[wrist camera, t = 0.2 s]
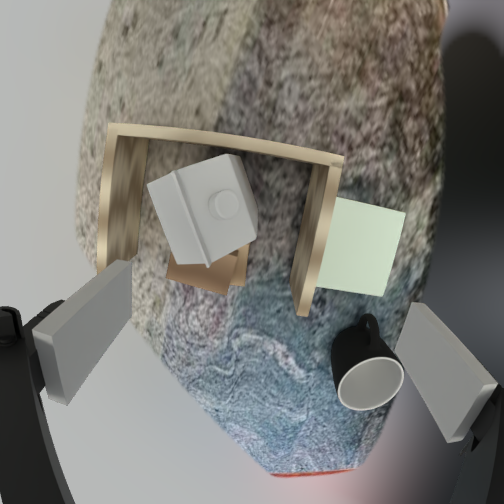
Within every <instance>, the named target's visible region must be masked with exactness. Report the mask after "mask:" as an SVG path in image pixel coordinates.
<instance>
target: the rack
mask: <svg viewBox="0 0 504 504" xmlns="http://www.w3.org/2000/svg"><path fill="white" fill-rule="evenodd" d="M150 139H152V140H162V141H171V142H180V143H189V144H197V145H204V146H212V147H219V148H226V149H232V150H239V151H245V152H251V153H257V154H263V155H269V156H274V157H279V158H285V159H290V160H295V161H300V162H305V163H310V164H313V167H312V172H311V177H310V182H309V187H308V193H307V198H306V203H305V208H304V213H303V217H302V222H301V227H300V232H299V237H298V241H297V246H296V251H295V255H294V260H293V265H292V269H291V274H290V278H289V283H290V287H291V292H292V296H293V301H294V305H295V310H296V315H299V316H306V317H308V314H309V310H310V306H311V302H312V299H313V295H314V291H315V287H316V283H317V279H318V275H319V271H320V267H321V263H322V259H323V255H324V250H325V246H326V242H327V237H328V233H329V229H330V224H331V220H332V215H333V210H334V206H335V201H336V196H337V191H338V186H339V181H340V176H341V171H342V166H343V161H344V156H340V155H336V154H332V153H327V152H323V151H318V150H314V149H309V148H304V147H299V146H294V145H289V144H284V143H279V142H273V141H268V140H262V139H256V138H250V137H244V136H237V135H231V134H224V133H217V132H209V131H201V130H193V129H184V128H174V127H164V126H153V125H140V124H124V123H109V124H108V130H107V137H106V144H105V152H104V160H103V168H102V178H101V189H100V201H99V216H98V237H97V275H98V274H99V273H100V272H101V271H103V270H104V269H105V268H107V267H108V266H109V265H110V264H112V263H113V262H114V261H116V260H117V259H118V260H124V261H129V260H130V259H131V258H133V257H134V256H135V255H136V254H137V249H138V235H139V223H140V212H141V202H142V192H143V184H144V175H145V168H146V160H147V153H148V146H149V140H150Z"/></svg>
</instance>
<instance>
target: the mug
mask: <svg viewBox="0 0 504 504" xmlns="http://www.w3.org/2000/svg"><path fill="white" fill-rule="evenodd" d="M367 321H368V323H369V327H370V329H368V328H366V324H367ZM331 364H332V373H333V379H334V384H335V388H336V392H337V395H338V398H339V400H340V402H341V403H342V404H343V405H344V406H346V407H347V408H350V409H353V410H369V409H373V408H376V407H379V406H381V405H383V404H384V403H386V402H387V401H389V400H390V399H391V398H392V397H393V396H394V395H395V394H396V393H397V392H398V390H399V389H400V387H401V385H402V383H403V379H404V371H403V368H402V366H401V364H400V362H399V360H398V359H397V357H396V356H395V354H394V353H393V352H392V350H391V349H390V348H389V347H388V346H387V344H386V343H385V342H384V341H383V340H382V339H381V338H380V335H379V327H378V323H377V320H376V318H375V317H374V316H373V315H372V314H364V315H362V316H361V318H360V320H359V323H358V325H357V327H351V328H348V329H346V330H344V331H343V332H341V333H340V334H339V335H338V336H337V338H336V339H335V341H334V343H333V346H332V351H331Z"/></svg>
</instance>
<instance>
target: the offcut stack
mask: <svg viewBox="0 0 504 504" xmlns="http://www.w3.org/2000/svg"><path fill="white" fill-rule="evenodd" d="M250 243H251V242H250ZM250 243H248V244H246V245H244V246H242V247H240V248H238V249H237V250H235V251H233V252H231V253H229V254H227V255H225V256H224V257H222V258H220V259H218V260H216V261H214V262H212V263H211V265H210V267H209V268H207V267H206V264H177V263H176V260H175V258H174V256H173V253H172V251H171V254H170V259H169V264H168V269H167V274H166V278H167V279H170V280H174V281H177V282H181V283H184V284H187V285H191V286H194V287H198V288H201V289H205V290H209V291H212V292H216V293H219V294H223V295H227V292H228V288H229V285H236V286H245V279H246V270H247V260H248V254H249V249H250Z"/></svg>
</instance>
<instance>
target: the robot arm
mask: <svg viewBox="0 0 504 504" xmlns="http://www.w3.org/2000/svg"><path fill="white" fill-rule="evenodd" d="M131 316H132V262H129V261H124V260H118V259H117V260H116V261H114V262H113V263H112V264H110V265H109V266H108V267H107V268H105V269H104V270H103V271H101V272H100V273H99V274H98V275H96V276H95V277H94V278H93V279H92V280H90V281H89V282H88V283H86V284H85V285H84V286H83V287H82V288H80V289H79V290H78V291H77V292H75V293H74V294H73V295H72V296H71V297H69V298H68V299H67V300H66V301H65V300H59V301H57V302H54V303H51V304H50V305H48V306H47V307H46V308H45V309H43V312H42V311H41V312H40V313H39V314H37V316H36V317H34V318H33V319H31V320H30V321H29V322H28V323H27V324H25V325H24V326H22V320H21V315H20V312H19V311H18V310H17V309H15V308H13V307H9V306H2V307H0V494H1V498H2V502H3V504H75V502H74V500H73V497H72V495H71V492H70V490H69V487H68V485H67V482H66V479H65V477H64V474H63V471H62V469H61V466H60V463H59V460H58V457H57V454H56V451H55V448H54V444H53V441H52V438H51V435H50V431H49V427H48V424H47V420H46V416H45V412H44V408H43V404H42V400H41V396H40V392H41V390H42V389H43V388H44V387H46V391H47V394H48V397H49V399H51V400H54V401H56V402H59V403H61V404H64V405H66V406H67V405H68V404H69V403H70V401H71V400H72V398H73V397H74V396H75V394H76V393H77V391H78V390H79V388H80V387H81V385H82V384H83V383H84V381H85V380H86V378H87V377H88V375H89V374H90V373H91V371H92V370H93V368H94V367H95V365H96V364H97V363H98V361H99V360H100V358H101V357H102V356H103V354H104V353H105V352H106V350H107V348H108V347H109V346H110V345H111V343H112V342H113V341H114V339H115V338H116V336H117V335H118V334H119V332H120V331H121V330H122V328H123V327H124V326H125V324H126V323H127V322H128V320H129V319H130V318H131ZM394 351H395V353H396V354H397V356H398V358H399V359H400V361H401V363H402V364H403V366H404V367H405V369H406V371H407V372H408V374H409V376H410V377H411V379H412V381H413V383H414V384H415V386H416V388H417V389H418V391H419V393H420V394H421V396H422V398H423V400H424V401H425V403H426V405H427V407H428V408H429V410H430V412H431V414H432V415H433V417H434V419H435V421H436V423H437V424H438V426H439V428H440V430H441V432H442V434H443V436H444V437H445V439H446V441H447V443H449V442H455V441H460V440H462V439H463V438H464V437H465V435H466V434H467V432H468V430H469V429H471V430H472V432H473V434H474V435H473V436H472V437H471V439H470V440H469V442H468V443H467V444H466V446H465V447H464V448H463V450H462V451H461V452H460V454H459V455H460V456H461V455H462V454H463V453H464V452H466V454H465V458H464V461H463V465H462V468H461V471H460V474H459V478H458V481H457V484H456V487H455V490H454V492H453V496H452V498H451V501H450V503H449V504H504V388H502V386H501V385H500V384H499V383H498V382H497V381H496V379H495V378H494V377H493V376H492V375H491V374H490V372H488V370H487V369H486V368H485V367H484V366H483V364H482V363H481V362H480V361H479V360H478V359H477V358H476V357H475V356H473V354H472V353H471V352H470V351H469V350H468V349H467V348H466V347H465V346H464V345H463V343H462V342H461V341H460V340H459V339H458V338H457V337H456V336H455V335H454V334H453V333H452V332H451V331H450V330H449V329H448V328H447V326H446V325H445V324H444V323H443V322H442V321H441V320H440V319H439V318H438V317H437V316H436V315H435V314H434V313H433V312H432V311H431V310H430V309H429V308H428V307H427V306H426V305H425V304H424V303H415V302H412V303H411V306H410V309H409V312H408V315H407V318H406V320H405V323H404V326H403V329H402V331H401V334H400V337H399V339H398V342H397V345H396V347H395V350H394Z"/></svg>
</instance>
